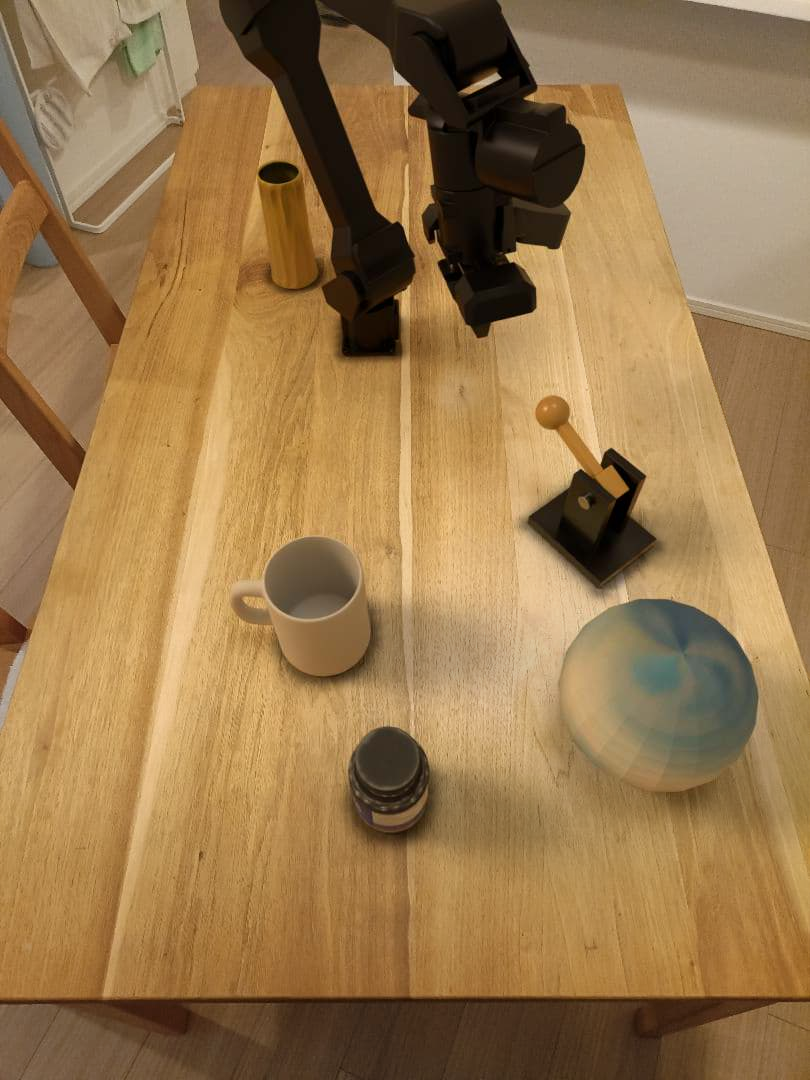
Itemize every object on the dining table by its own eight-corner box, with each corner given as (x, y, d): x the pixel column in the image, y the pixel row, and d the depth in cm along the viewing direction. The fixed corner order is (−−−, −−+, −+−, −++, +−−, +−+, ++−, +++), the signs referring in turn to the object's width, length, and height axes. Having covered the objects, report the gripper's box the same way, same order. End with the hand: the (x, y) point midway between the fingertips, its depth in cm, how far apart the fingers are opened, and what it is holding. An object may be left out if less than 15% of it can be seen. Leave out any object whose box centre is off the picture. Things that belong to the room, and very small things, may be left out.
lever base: (526, 522, 79) (539, 463, 70) (581, 483, 81) (600, 421, 73) (598, 589, 74) (620, 533, 66) (653, 545, 77) (682, 486, 69)
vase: (311, 292, 98) (296, 190, 86) (265, 287, 99) (244, 184, 87) (323, 262, 102) (311, 159, 90) (279, 257, 102) (261, 154, 90)
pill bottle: (353, 763, 66) (342, 718, 56) (424, 757, 66) (425, 711, 56) (356, 839, 62) (346, 804, 53) (431, 832, 62) (434, 797, 53)
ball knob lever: (523, 413, 73) (537, 400, 70) (547, 397, 74) (562, 383, 71) (594, 512, 72) (611, 503, 69) (618, 495, 73) (635, 485, 70)
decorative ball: (724, 828, 62) (802, 776, 50) (539, 796, 64) (569, 737, 51) (716, 660, 70) (782, 578, 58) (552, 635, 72) (581, 550, 59)
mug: (373, 596, 74) (367, 534, 65) (367, 679, 70) (360, 624, 60) (250, 593, 75) (227, 530, 65) (236, 675, 70) (209, 620, 61)
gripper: (599, 200, 58) (593, 369, 70) (527, 117, 71) (532, 272, 82) (457, 234, 58) (474, 398, 70) (410, 145, 71) (431, 296, 82)
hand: (481, 335), depth 76 cm, fingers closed
